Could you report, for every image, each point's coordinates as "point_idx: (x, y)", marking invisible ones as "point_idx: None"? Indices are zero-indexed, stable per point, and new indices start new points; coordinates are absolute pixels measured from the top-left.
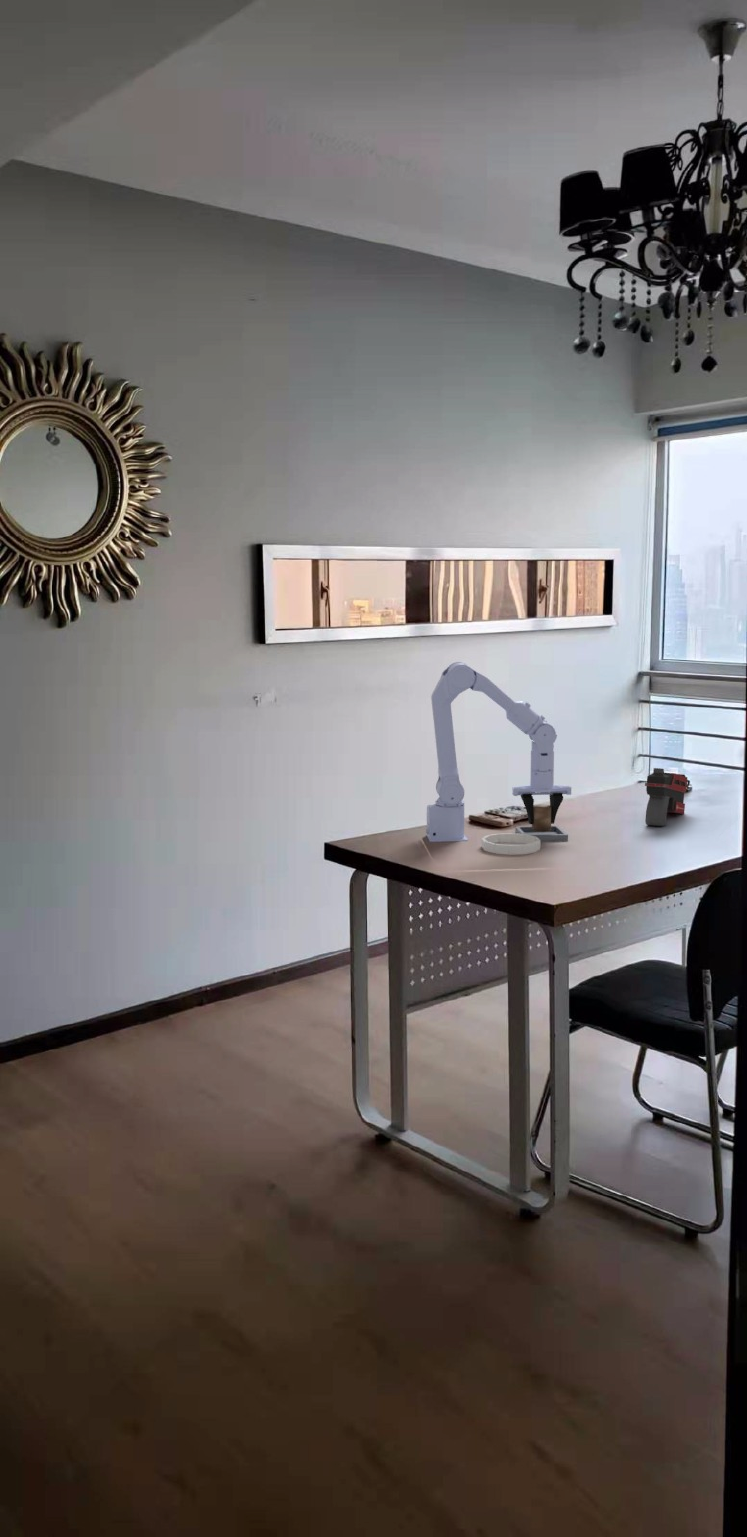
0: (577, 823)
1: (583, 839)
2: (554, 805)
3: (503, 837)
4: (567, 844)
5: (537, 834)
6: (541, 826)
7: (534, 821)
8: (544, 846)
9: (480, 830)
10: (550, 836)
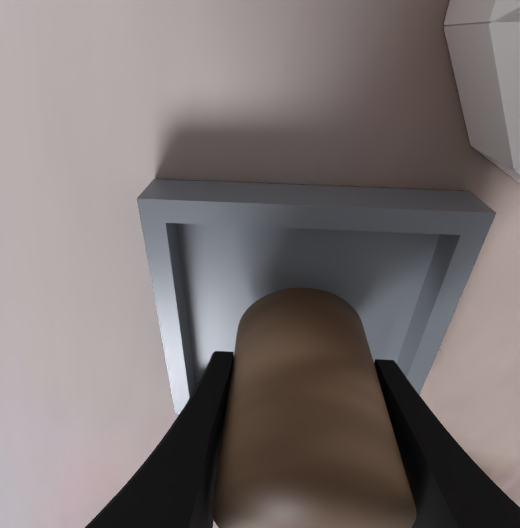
0: (88, 476)
1: (50, 234)
2: (184, 495)
3: None
4: (165, 99)
5: None
6: (324, 315)
7: (374, 368)
8: (367, 49)
9: (516, 454)
10: (277, 200)
